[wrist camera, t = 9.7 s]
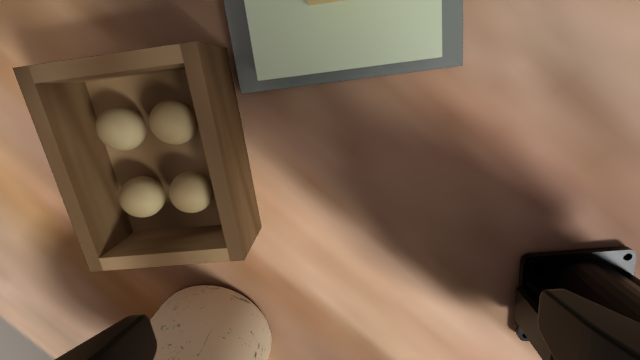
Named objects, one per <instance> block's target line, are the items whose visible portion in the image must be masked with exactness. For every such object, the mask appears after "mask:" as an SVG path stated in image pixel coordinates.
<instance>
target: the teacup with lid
mask: <svg viewBox="0 0 640 360" xmlns="http://www.w3.org/2000/svg"><path fill="white" fill-rule="evenodd" d="M150 322H151V325H152V328H153V331H154V334H155V337H156V340H157V351H156V354H155V357H154V359H153V360H268V357H269V353H270V349H271V333H270V328H269V326H268V323H267V321H266V319H265V317H264V315H263V314H262V313H261V311H260V310H259V309H258V308H257V307H256V306H255V305H254V304H253V303H252V302H251V301H250V300H249V299H247V298H246V297H244V296H243V295H241V294H239V293H237V292H235V291H233V290H230V289H227V288H224V287H219V286H212V285H199V286H192V287H188V288H185V289H183V290H180V291H178V292H176V293H175V294H173V295H172V296H170V297H169V298H168V299H167V300H166V301H165V302H164V303H163V304H162V306H161V307H160V308H159V310H158V311H157V312H156V313H155V315H154V316H153V317H152V318H151V320H150Z"/></svg>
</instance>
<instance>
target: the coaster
mask: <svg viewBox="0 0 640 360" xmlns="http://www.w3.org/2000/svg"><path fill="white" fill-rule="evenodd" d="M224 6H225V11H226V16H227V22H228V27H229V32H230V37H231V43H232V48H233V53H234V59H235V64H236V69H237V75H238V80H239V85H240V90H241V94H244V93H252V92H260V91H267V90H275V89H283V88H291V87H299V86H307V85H314V84H322V83H330V82H338V81H346V80H354V79H362V78H369V77H377V76H385V75H393V74H401V73H409V72H416V71H424V70H432V69H440V68H448V67H456V66H463V0H442V57H439V58H432V59H424V60H417V61H409V62H401V63H393V64H386V65H378V66H370V67H363V68H355V69H347V70H339V71H332V72H324V73H316V74H309V75H301V76H293V77H285V78H278V79H270V80H262V81H258V79H257V74H256V68H255V62H254V56H253V50H252V44H251V38H250V33H249V27H248V21H247V15H246V9H245V3H244V0H224Z"/></svg>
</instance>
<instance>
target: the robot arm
mask: <svg viewBox="0 0 640 360" xmlns="http://www.w3.org/2000/svg"><path fill="white" fill-rule="evenodd" d="M625 254H626V256H624V255H625ZM636 258H637V253H636V252H635V251H633V250H632V249H630V248H628V247H624V246H623V247H609V248H596V249H582V250H568V251H554V252H540V253H528V254H525V255H524V256H522V258H521V260H520V273H519V285H518V286H517V288H516V296H515V311H514V320H515V321H516V334H517V335H518V337H519V338H520V340H522V341H530V343H531V344H532V345H533V347H534V348H535V350H536V351H537V352H538V354H539V355H540V357H541V358H542V360H640V280H639V279H638V278H636V277H635V276H634V275H633V274H634V269H635V264H636ZM531 260H533V261H532V262H531V263H529V264H528V262H529V261H531ZM523 333H524V334H523ZM156 351H157V340H156V337H155V334H154V331H153V328H152V325H151V322H150V319H149V318H148V316H146V315H132V316H128V317H126V318H124V319H122V320H121V321H119V322H117V323H116V324H114V325H112V326H111V327H109V328H107V329H105V330H104V331H102V332H100V333H99V334H97V335H95V336H94V337H92V338H90V339H89V340H87V341H85V342H84V343H82V344H80V345H79V346H77V347H75V348H73V349H72V350H70V351H68V352H67V353H65V354H63V355H62V356H60V357H58V358H57V359H55V360H153V359H154V357H155V354H156Z"/></svg>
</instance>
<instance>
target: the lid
mask: <svg viewBox="0 0 640 360" xmlns="http://www.w3.org/2000/svg"><path fill="white" fill-rule="evenodd" d="M244 3H245V9H246V15H247V21H248V27H249V33H250V38H251V44H252V50H253V56H254V62H255V68H256V74H257V79H258V81H262V80H270V79H278V78H285V77H293V76H301V75H309V74H316V73H324V72H332V71H339V70H347V69H355V68H363V67H370V66H378V65H386V64H393V63H401V62H409V61H417V60H424V59H432V58H439V57H442V0H244Z"/></svg>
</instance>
